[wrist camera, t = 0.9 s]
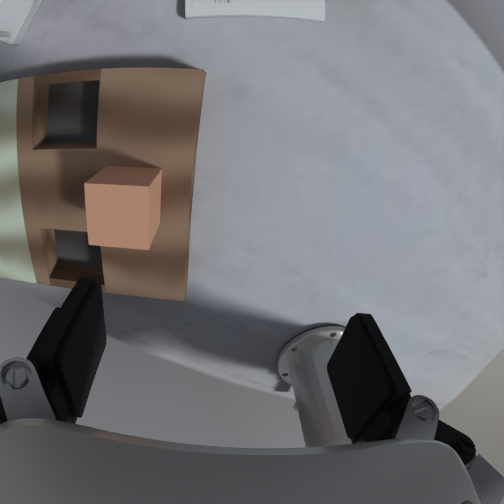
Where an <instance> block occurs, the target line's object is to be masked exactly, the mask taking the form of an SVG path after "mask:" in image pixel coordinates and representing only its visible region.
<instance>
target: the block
mask: <svg viewBox="0 0 504 504" xmlns="http://www.w3.org/2000/svg"><path fill="white" fill-rule="evenodd" d="M161 180H162V169H161V168H144V167H123V166H106V167H105V168H103V169H102V170H101V171H99V172H98V173H97V174H96V175H94V176H93V177H92V178H90V179H89V180H88V181H87V182H85V183H84V189H85V207H86V221H87V232H88V242H89V245H97V246H107V247H118V248H130V249H141V250H149V248H150V246H151V243H152V241H153V238H154V236H155V234H156V231H157V229H158V226H159V224H160V205H161Z"/></svg>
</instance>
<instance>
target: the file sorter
mask: <svg viewBox="0 0 504 504" xmlns="http://www.w3.org/2000/svg"><path fill="white" fill-rule="evenodd" d="M42 2H43V0H0V41H3V42H5V43H8V44H11V45H19V44H20V43H21V42H22V39H23V37H24V35H25V33H26V31H27V29H28V27H29V25H30V23H31V21H32V20H33V18H34V16H35V14H36V12H37V10H38V9H39V7H40V5H41V3H42Z"/></svg>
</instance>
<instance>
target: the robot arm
mask: <svg viewBox="0 0 504 504" xmlns="http://www.w3.org/2000/svg"><path fill="white" fill-rule="evenodd" d="M105 345H106V330H105V321H104V311H103V300H102V287H101V284H100V283H97V280H96V278H91V277H85V276H81V277H80V278H79V279H78V281H77V282H76V284H75V286H74V287H73V289H72V290H71V292H70V294H69V295H68V297H67V298H66V300H65V302H64V303H63V305H62V307H61V308H59V307H57V308H56V309H55V310H54V311H53V313H52V314H51V316H50V318H49V319H48V321H47V323H46V324H45V326H44V328H43V330H42V331H41V333H40V335H39V336H38V338H37V340H36V342H35V344H34V346H33V347H32V349H31V351H30V353H29V355H28V356H27V358H26V359H24V358H20V357H15V358H10V359H8V360H6V361H4V362H3V363H2V364H1V365H0V504H500V502H501V501H502V499H503V497H504V478H503V476H502V475H501V474H500V473H499V472H497V470H496V469H494V468H493V467H492V466H491V465H490V464H489V463H488V462H487V461H486V460H485V459H484V458H483V457H482V456H481V455H480V454H478V455H477V456H476V455H475V453H476V449H475V445H474V443H473V441H472V440H471V439H470V438H469V437H468V436H467V435H465V434H463V433H461V432H460V431H458V430H456V429H454V428H452V427H451V426H449V425H447V424H445V423H444V422H442V421H440V420H439V410H438V407H437V406H436V404H435V403H434V402H433V401H432V400H431V399H429V398H428V397H426V396H423V395H416V396H413V397H412V398H411V396H410V392H411V389H410V387H409V385H408V383H407V381H406V379H405V377H404V375H403V373H402V371H401V369H400V367H399V365H398V363H397V361H396V359H395V357H394V355H393V354H392V352H391V350H390V348H389V346H388V344H387V342H386V340H385V339H384V337H383V335H382V333H381V331H380V329H379V328H378V326H377V324H376V322H375V320H374V318H373V317H372V315H371V314H363V313H356V314H355V315H354V316H352V317H351V318H350V320H349V322H348V324H347V326H346V328H344V327H340V326H326V327H320V328H315V329H312V330H309V331H307V332H304V333H302V334H300V335H298V336H297V337H295V338H294V339H292V340H291V341H290V342H289V343H288V344H287V345H286V346H285V347H284V348H283V349H282V351H281V352H280V354H279V357H278V361H277V366H278V372H279V375H280V376H281V378H282V379H283V380H284V381H285V382H287V383H289V384H291V385H293V390H294V394H295V399H296V402H295V404H294V409H295V410H296V411H298V413H299V417H300V423H301V427H302V432H303V437H304V442H305V446H306V447H305V448H235V447H218V446H205V445H193V444H184V443H175V442H168V441H160V440H154V439H148V438H142V437H136V436H130V435H125V434H120V433H115V432H110V431H105V430H100V429H96V428H91V427H87V426H82V425H77V424H75V423H76V420H77V417H80V418H81V417H82V415H83V412H84V409H85V405H86V402H87V399H88V396H89V392H90V389H91V386H92V383H93V380H94V377H95V374H96V371H97V368H98V366H99V362H100V360H101V357H102V354H103V351H104V349H105Z"/></svg>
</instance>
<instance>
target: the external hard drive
mask: <svg viewBox="0 0 504 504" xmlns="http://www.w3.org/2000/svg"><path fill="white" fill-rule="evenodd" d="M214 17H263V18H281V19H294V20H304V21H314V22H321V23H322V22H323V21H325V0H185V18H186V19H195V18H214Z"/></svg>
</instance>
